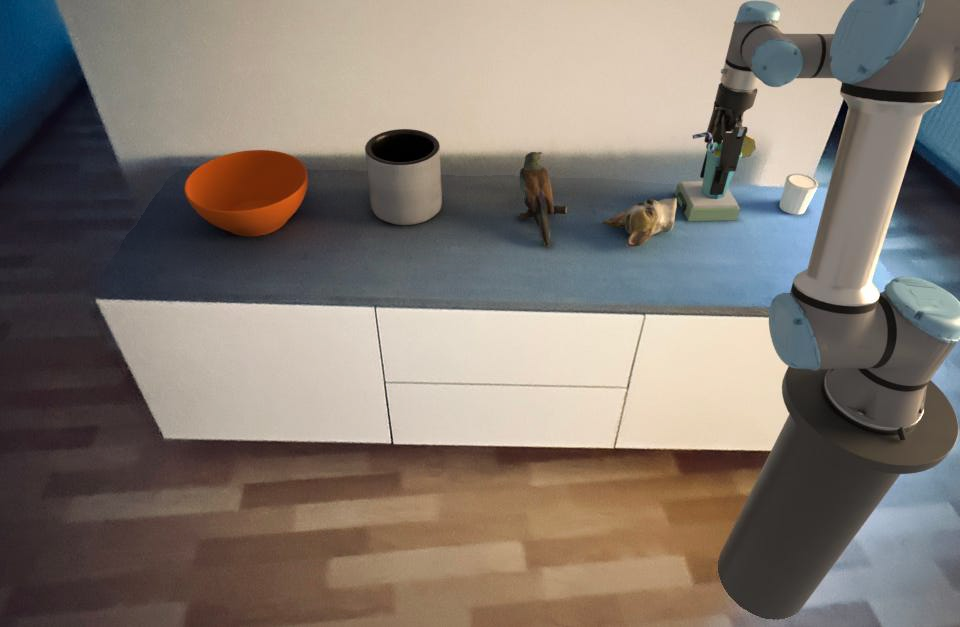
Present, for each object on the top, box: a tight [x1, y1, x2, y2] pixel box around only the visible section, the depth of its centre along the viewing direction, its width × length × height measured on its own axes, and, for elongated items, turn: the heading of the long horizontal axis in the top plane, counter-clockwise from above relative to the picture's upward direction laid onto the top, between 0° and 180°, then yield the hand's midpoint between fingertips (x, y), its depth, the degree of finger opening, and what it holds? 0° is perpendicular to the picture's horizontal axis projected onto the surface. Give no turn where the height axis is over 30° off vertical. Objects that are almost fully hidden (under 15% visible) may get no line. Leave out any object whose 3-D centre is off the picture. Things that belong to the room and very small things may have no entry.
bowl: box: [184, 149, 309, 237], centre depth 145 cm, size 25×25×10 cm
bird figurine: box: [519, 151, 568, 248], centre depth 145 cm, size 13×10×20 cm
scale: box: [674, 180, 741, 222], centre depth 153 cm, size 11×12×4 cm
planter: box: [364, 128, 443, 226], centre depth 147 cm, size 16×16×16 cm
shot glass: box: [779, 173, 819, 215], centre depth 152 cm, size 7×7×7 cm
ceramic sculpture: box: [602, 197, 678, 247], centre depth 143 cm, size 11×9×15 cm
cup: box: [692, 131, 757, 199], centre depth 146 cm, size 14×8×15 cm, turn 96°
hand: (711, 185), depth 150 cm, fingers closed on cup, 6 cm apart
